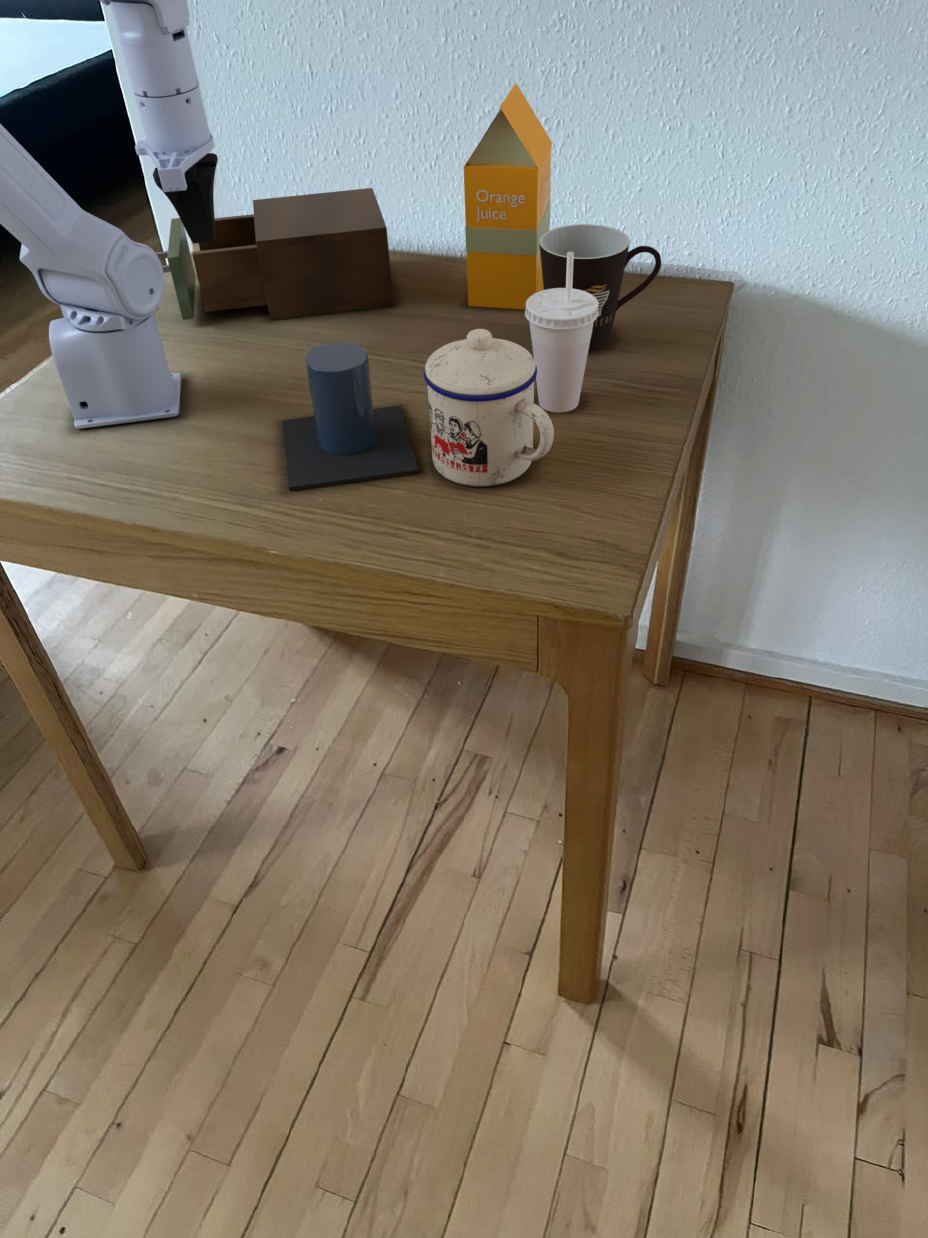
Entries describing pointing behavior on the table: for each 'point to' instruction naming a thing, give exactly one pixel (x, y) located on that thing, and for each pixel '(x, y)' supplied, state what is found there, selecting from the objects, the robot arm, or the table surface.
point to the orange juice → (507, 207)
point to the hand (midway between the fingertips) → (203, 239)
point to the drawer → (217, 266)
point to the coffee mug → (593, 269)
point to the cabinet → (323, 253)
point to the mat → (324, 468)
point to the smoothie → (561, 341)
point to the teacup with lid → (484, 410)
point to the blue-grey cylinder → (342, 397)
